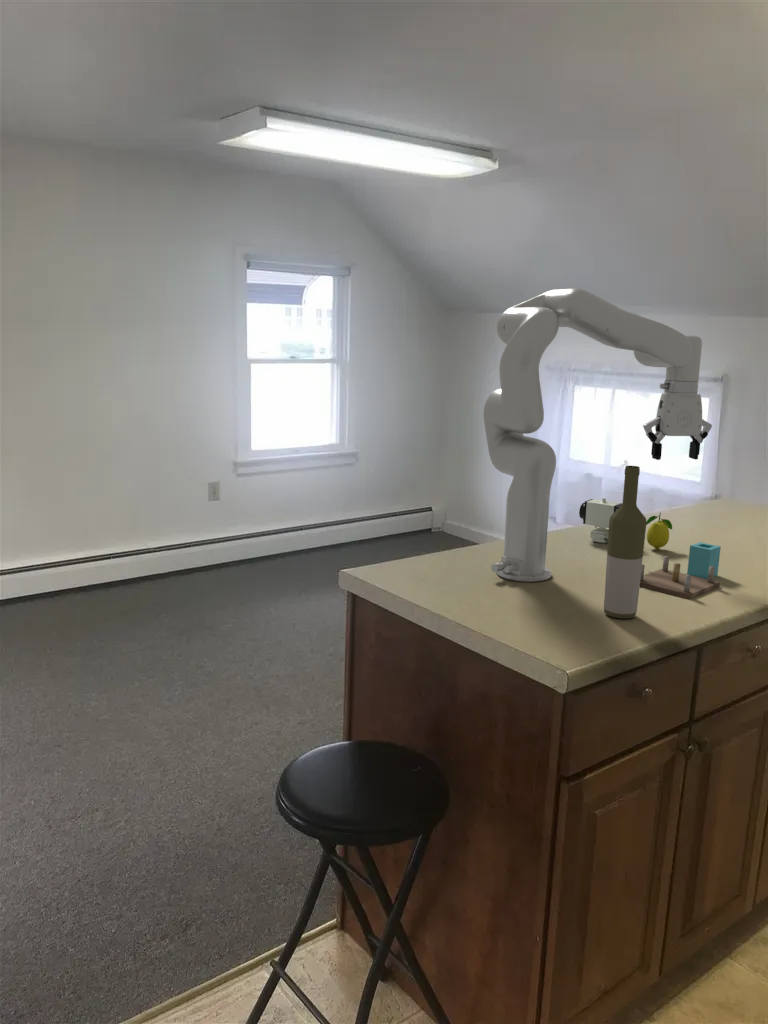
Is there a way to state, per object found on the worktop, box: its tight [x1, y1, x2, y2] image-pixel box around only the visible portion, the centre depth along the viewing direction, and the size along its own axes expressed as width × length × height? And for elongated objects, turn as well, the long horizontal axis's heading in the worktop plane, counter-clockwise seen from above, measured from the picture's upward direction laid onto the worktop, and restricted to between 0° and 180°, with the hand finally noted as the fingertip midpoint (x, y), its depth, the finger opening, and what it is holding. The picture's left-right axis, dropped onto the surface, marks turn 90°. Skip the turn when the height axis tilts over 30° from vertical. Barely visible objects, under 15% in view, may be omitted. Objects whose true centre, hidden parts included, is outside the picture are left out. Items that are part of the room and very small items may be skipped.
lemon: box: [646, 512, 673, 550], centre depth 218 cm, size 7×6×10 cm
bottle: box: [603, 465, 647, 620], centre depth 164 cm, size 7×7×30 cm
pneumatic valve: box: [578, 497, 623, 545], centre depth 225 cm, size 6×12×12 cm, turn 53°
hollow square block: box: [686, 542, 721, 579], centre depth 196 cm, size 5×5×7 cm
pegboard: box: [640, 555, 721, 600], centre depth 188 cm, size 14×14×5 cm
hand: (674, 458), depth 205 cm, fingers open, 9 cm apart
